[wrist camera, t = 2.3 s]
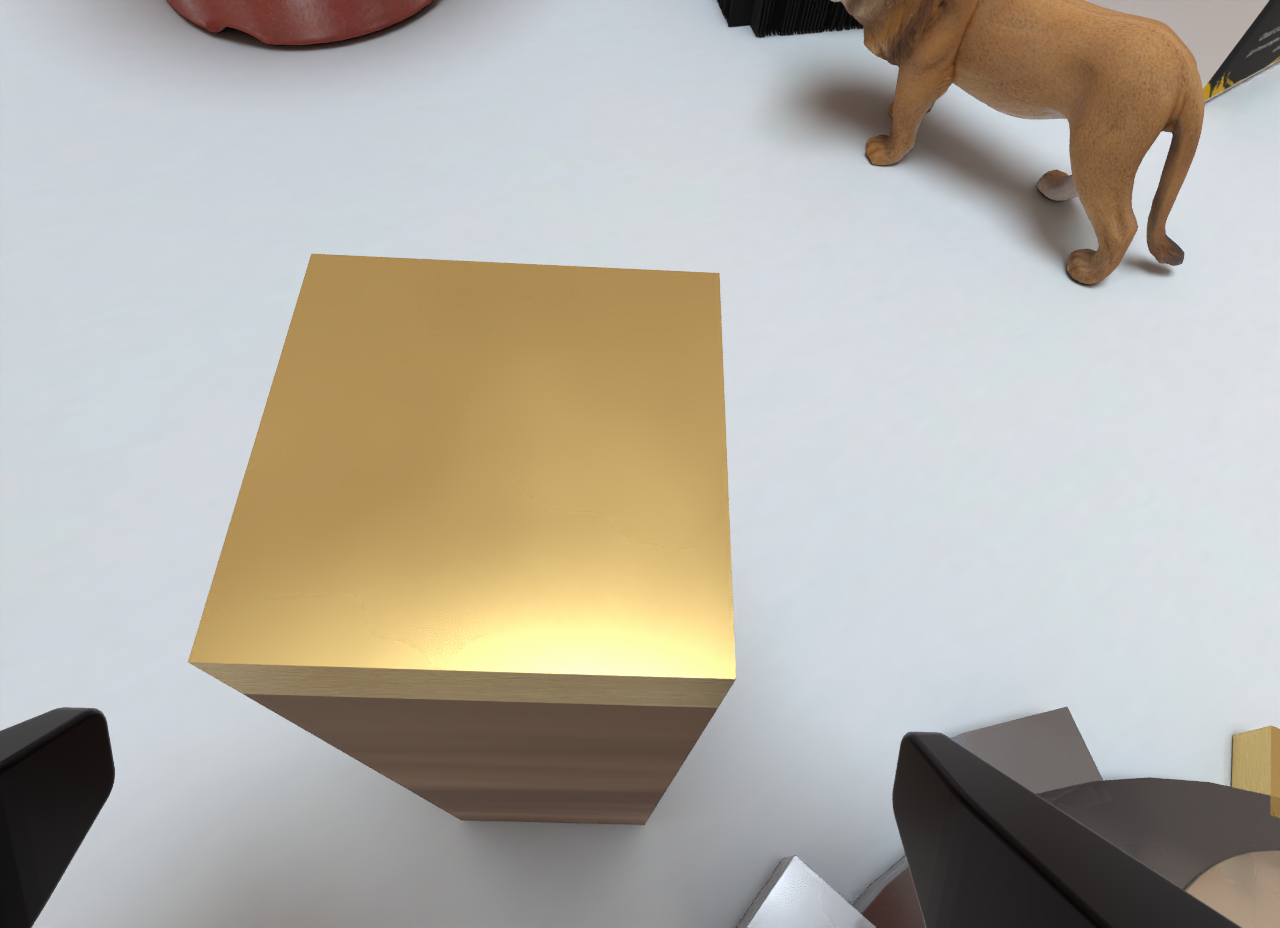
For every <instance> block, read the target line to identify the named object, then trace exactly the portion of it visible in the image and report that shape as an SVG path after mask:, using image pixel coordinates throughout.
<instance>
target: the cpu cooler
mask: <svg viewBox="0 0 1280 928" xmlns="http://www.w3.org/2000/svg"><path fill="white" fill-rule="evenodd" d="M718 3H719V5H720V8H721V9H722V13H723V15H725V17H726V18H725V19H727V22H728V26H739V25H751V27H752V29H753V31H754V33H755V34H756V36H759V37H761V35H762V36H763V37H765V33H766V35H767V36H768V33H769V35H770V36H771V31H772V32H773V34H774V36H775V31H777V33H778V35H779V32H780V34H781V35H783V34H784V35H786V33H787V34H788V35H790V33H791V35H792V34H793V33H794V32H795V34H796V31H797V32H798V34H800V32H801V33H802V34H804V31H805V33H807V32H809V33H811V30H812V32H813V33H815V31H816V32H818V31H820V32H822V30H823V32H824V28H825V29H826V31H827V29H828V28H829V30H830V31H832V30H834V29H835V27H836V29H837V31H839V29H840V30H843V26H844V27H845V29H846V28H847V29H848V30H849V29H850V26H851V28H852V29H853V27H854V29H855V26H857V28H858V29H860V27H861V29H862V28H863V25H862V24H860V23H859V22H858V21H857V20H856V19H855V18H854V17H853V16H852V15H850V14H849V13H848V11H847V10H846V8H845V6H844V4H843V3H842V2H841V1H840V2H834V1H831V0H718Z"/></svg>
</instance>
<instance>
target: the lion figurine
mask: <svg viewBox="0 0 1280 928" xmlns="http://www.w3.org/2000/svg"><path fill="white" fill-rule="evenodd" d="M831 1H834V2H840V1H841V2H842V3H843V4H844V6H845V8H846V10H847V11H848V13H849V14H850V15H852V16H853V17H854V18H855V19H856V20H857V21H858V22H859V23H860V24H862V25H863V28H864V45H865V46H866V47H867V48H868V49H869V50H870V51H871V52H872V53H873V54H875V55H876V56H878V57H880V58H882V59H884V60H887V61H888V62H889V63H890V64H893V65H897V66H898V67H899V73H898V79H897V86H896V92H895V98H894V101H893V103H892V105H891V106H890V107H889V115H890V117H892V118H893V121H892V129H891V132H890V135H889V136H888V135H879V136H877V137H873V138H871V139H869V140H868V141H867V144H866V154H867V156H868V157H869V159H870V162H871V163H872V164H875V165H890V164H894V163H897V162H899V161H900V160H901V159H902V158H903V157H904V156H905V155H906V153H907V152H908V151H911V150H912V148H913V146H914V144H915V141H916V136H917V133H918V129H919V126H920V123H921V121H922V119H923V117H924V116H925V115H926V114H927V113H928V112H929V111H930V110H931V109H932V107H933V105H934V103H935V101H936V100H937V99H938V98H939V97H941V96H942V95H943V94H944V93H945V92H946V91H947V89H948V88H949V86H950V85H951V83H954V84H955V85H957V86H958V87H960V88H961V89H963V90H964V91H965V92H967V93H968V94H970V95H971V96H973V97H975V98H976V99H978V100H979V101H981V102H983V103H985V104H987V105H988V106H990V107H991V108H993V109H995V110H997V111H999V112H1002V113H1004V114H1007V115H1010V116H1013V117H1018V118H1023V119H1068V122H1069V127H1070V145H1069V152H1070V161H1071V170H1072V175H1070V176H1068V175H1067V174H1066V173H1064V172H1061V171H1059V170H1052V171H1049V172H1047V173H1045V174H1044V175H1043V176H1042V177H1041V178H1040V180H1039V181H1038V183H1037V187H1038V189H1039V190H1040V191H1041V192H1042V193H1043V194H1044V195H1045V196H1046V197H1048V198H1050V199H1052V200H1057V201H1058V200H1068V199H1071V198H1074V197H1077V196H1079V198H1080V200H1081V203H1082V205H1083V206H1084V208H1085V211H1086V213H1087V215H1088V218H1089V220H1090V221H1091V223H1092V225H1093V228H1094V230H1095V233H1096V236H1097V239H1098V244H1099V248H1098V250H1097V251H1094V250H1091V249H1083V250H1077V251H1074V252H1072V253H1071V254H1070V255H1069V257H1068V265H1067V270H1068V272H1069V274H1070V276H1071V277H1072V278H1073V279H1075V280H1076V281H1078V282H1081V283H1085V284H1093V283H1097V282H1099V281H1102V280H1103V279H1104V278H1106V277H1107V276H1108V275H1109V274H1111V273H1112V272H1113V271H1114V269H1115V268H1116V267H1117V266H1118V265H1119V263H1120V261H1121V260H1122V258H1123V256H1124V254H1125V252H1126V250H1127V249H1128V247H1129V245H1130V243H1131V241H1132V239H1133V237H1134V235H1135V233H1136V231H1137V228H1138V225H1137V221H1136V218H1135V215H1134V213H1133V210H1132V202H1131V200H1132V190H1133V184H1134V178H1135V174H1136V172H1137V169H1138V167H1139V165H1140V163H1141V161H1142V159H1143V157H1144V156H1145V154H1146V153H1147V151H1148V150H1149V148H1150V147H1151V145H1152V144H1153V143H1154V141H1155V140H1156V138H1157V137H1158V135H1159V134H1160V132H1161V131H1165V132H1172V134H1173V137H1172V141H1171V145H1170V149H1169V152H1168V155H1167V159H1166V162H1165V165H1164V168H1163V171H1162V175H1161V179H1160V182H1159V186H1158V189H1157V191H1156V194H1155V196H1154V199H1153V203H1152V207H1151V211H1150V214H1149V217H1148V223H1147V244H1148V248H1149V251H1150V253H1151V254H1152V255H1153V256H1154V257H1155V258H1156V259H1157V261H1158V262H1159V263H1166V264H1169V265H1172V266H1175V265H1180V264H1182V262H1183V259H1184V251H1183V250H1182V249H1181V248H1180V247H1179V246H1178V245H1177V244H1176V243H1175V242H1174V241H1172V240H1171V239H1170V238H1169V237H1168V236H1167V235H1166V233H1165V223H1166V220H1167V217H1168V215H1169V213H1170V211H1171V208H1172V206H1173V204H1174V202H1175V199H1176V197H1177V195H1178V192H1179V190H1180V188H1181V186H1182V184H1183V182H1184V180H1185V177H1186V175H1187V173H1188V170H1189V168H1190V165H1191V162H1192V160H1193V157H1194V155H1195V152H1196V149H1197V145H1198V142H1199V138H1200V134H1201V129H1202V123H1203V116H1204V94H1203V88H1202V82H1201V78H1200V75H1199V72H1198V70H1197V63H1196V60H1195V58H1194V56H1193V54H1192V53H1191V51H1190V50H1189V48H1188V47H1187V46H1186V45H1185V44H1184V42H1183V41H1182V40H1181V39H1180V38H1179V37H1178V36H1177V34H1176V33H1175V32H1174V31H1173V30H1172V29H1171V28H1170V27H1169V26H1167V25H1166V24H1164V23H1162V22H1160V21H1158V20H1154V19H1150V18H1146V17H1142V16H1137V15H1132V14H1127V13H1122V12H1118V11H1114V10H1111V9H1107V8H1104V7H1101V6H1098V5H1095V4H1093V3H1090V2H1088V1H1085V0H831Z"/></svg>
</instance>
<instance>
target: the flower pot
mask: <svg viewBox="0 0 1280 928" xmlns="http://www.w3.org/2000/svg"><path fill="white" fill-rule="evenodd" d="M167 1H168V3H169V4H170V5H171V6H172V7H173V8H174V9H175V10H176V11H177V12H178V13H180V14H181V15H182V16H183V17H185V18H187V19H188V20H190V21H191V22H193V23H195V24H196V25H198V26H200V27H202V28H204V29H206V30H208V31H210V32H221V31H222V30H224V29H225V28H226V27H231V28H235V29H238V30H241V31H243V32H246V33H248V34H250V35H252V36H254V37H256V38H257V39H259V40H260V41H262V42H263V43H265V44H277V45H307V44H316V43H326V42H333V41H340V40H345V39H349V38H353V37H358V36H362V35H365V34H368V33H371V32H375V31H378V30H381V29H383V28H386V27H388V26H391V25H393V24H395V23H398V22H400V21H402V20H404V19H406V18H408V17H410V16H412V15H413V14H415V13H416V12H418V11H419V10H421V9H422V8H424V7H425V6H426V5H428V4H429V3H430V2H432V1H433V0H167Z"/></svg>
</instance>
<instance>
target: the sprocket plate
mask: <svg viewBox="0 0 1280 928" xmlns="http://www.w3.org/2000/svg"><path fill="white" fill-rule="evenodd" d="M952 740H953V741H955V742H956V743H958V744H959V745H961V746H963V747H964V748H966V749H967V750H969V751H970V752H972V753H973V754H975V755H976V756H978V757H980V758H981V759H983V760H984V761H986V762H987V763H989V764H990V765H992V766H993V767H995V768H996V769H998V770H1000V771H1001V772H1003V773H1004V774H1006V775H1007V776H1009V777H1010V778H1012V779H1013V780H1015V781H1017V782H1018V783H1020V784H1021V785H1023V786H1024V787H1026V788H1027V789H1029V790H1030V791H1032V792H1034V793H1035V794H1037V795H1038V796H1040V797H1041V798H1043V799H1044V800H1046V801H1047V802H1049V803H1051V804H1052V805H1054V806H1055V807H1057V808H1058V809H1060V810H1061V811H1063V812H1064V813H1066V814H1068V815H1069V816H1071V817H1072V818H1074V819H1075V820H1077V821H1078V822H1080V823H1081V824H1083V825H1084V826H1086V827H1088V828H1089V829H1091V830H1092V831H1094V832H1095V833H1097V834H1098V835H1100V836H1101V837H1103V838H1105V839H1106V840H1108V841H1109V842H1111V843H1112V844H1114V845H1115V846H1117V847H1118V848H1120V849H1122V850H1123V851H1125V852H1126V853H1128V854H1129V855H1131V856H1132V857H1134V858H1135V859H1137V860H1139V861H1140V862H1142V863H1143V864H1145V865H1146V866H1148V867H1149V868H1151V869H1152V870H1154V871H1156V872H1157V873H1159V874H1160V875H1162V876H1163V877H1165V878H1166V879H1168V880H1169V881H1171V882H1172V883H1174V884H1176V885H1177V886H1179V887H1180V888H1182V889H1183V890H1185V891H1186V892H1188V893H1189V894H1191V895H1193V896H1194V897H1196V898H1197V899H1199V900H1200V901H1202V902H1203V903H1205V904H1206V905H1208V906H1210V907H1211V908H1213V909H1214V910H1216V911H1217V912H1219V913H1220V914H1222V915H1223V916H1225V917H1227V918H1228V919H1230V920H1231V921H1233V922H1234V923H1236V924H1237V925H1239V926H1240V927H1242V928H1280V729H1278V728H1276V727H1273V726H1268V727H1264V728H1260V729H1256V730H1252V731H1248V732H1244V733H1240V734H1237V735H1233V762H1232V787H1229V786H1224V785H1219V784H1214V783H1210V782H1199V781H1186V780H1173V779H1160V778H1136V779H1120V780H1105V781H1103V779H1102V777H1101V775H1100V773H1099V771H1098V769H1097V767H1096V765H1095V763H1094V761H1093V759H1092V757H1091V755H1090V752H1089V750H1088V748H1087V746H1086V744H1085V742H1084V740H1083V738H1082V736H1081V734H1080V732H1079V730H1078V728H1077V726H1076V724H1075V722H1074V720H1073V718H1072V715H1071V713H1070V711H1069V709H1068V707H1064V708H1060V709H1056V710H1052V711H1048V712H1045V713H1041V714H1037V715H1033V716H1029V717H1025V718H1021V719H1017V720H1013V721H1009V722H1006V723H1002V724H998V725H994V726H990V727H986V728H982V729H978V730H974V731H971V732H967V733H963V734H960V735H958V736H956V737H954V738H952ZM736 928H926V926H925V923H924V919H923V916H922V912H921V908H920V905H919V901H918V898H917V894H916V890H915V887H914V883H913V880H912V876H911V873H910V869H909V865H908V862H907V858H906V855H905V856H904V857H903V858H902V859H900V860H899V861H898V862H897V863H896V864H895V865H893V866H892V867H891V868H890V869H889V870H887V871H886V872H885V873H884V874H883V875H882V876H880V877H879V878H878V879H877V880H876V881H874V882H873V883H872V884H871V885H870V886H869V887H868V888H867V889H866V890H865V891H864V893H863V894H862V895H861V896H860V897H859V898H858V899H857V901H856V902H855V903H854V904H853V905H852V906H851V905H850V904H849V903H848V902H847V901H846V900H845V899H844V898H842V897H841V896H840V895H839V894H838V893H837V892H836V891H835V890H834V889H832V888H831V887H830V886H829V885H828V884H827V883H826V882H825V881H823V880H822V879H821V878H820V877H819V876H818V875H817V874H816V873H814V872H813V871H812V870H811V869H810V868H809V867H808V866H807V865H806V864H804V863H803V862H802V861H801V860H800V859H799V858H798V857H797V856H791V857H786V858H783V859H782V861H781V862H780V864H779V865H778V867H777V868H776V869H775V871H774V872H773V874H772V875H771V877H770V878H769V880H768V881H767V883H766V884H765V886H764V887H763V889H762V890H761V892H760V893H759V894H758V896H757V897H756V899H755V900H754V902H753V903H752V905H751V906H750V908H749V909H748V911H747V912H746V914H745V915H744V917H743V918H742V919H741V921H740V922H739V924H738V925H737V927H736Z"/></svg>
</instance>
